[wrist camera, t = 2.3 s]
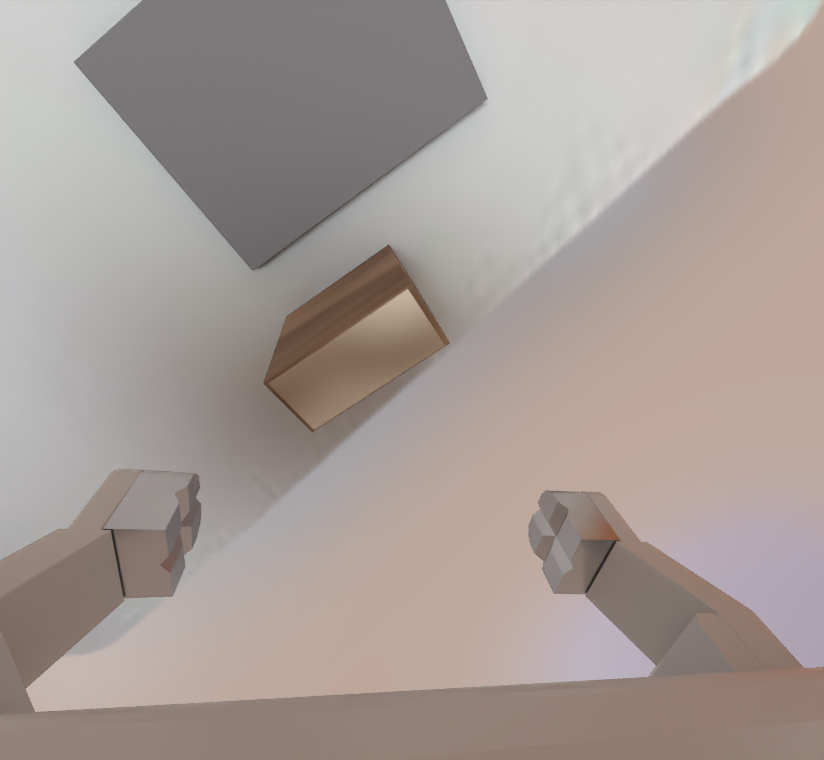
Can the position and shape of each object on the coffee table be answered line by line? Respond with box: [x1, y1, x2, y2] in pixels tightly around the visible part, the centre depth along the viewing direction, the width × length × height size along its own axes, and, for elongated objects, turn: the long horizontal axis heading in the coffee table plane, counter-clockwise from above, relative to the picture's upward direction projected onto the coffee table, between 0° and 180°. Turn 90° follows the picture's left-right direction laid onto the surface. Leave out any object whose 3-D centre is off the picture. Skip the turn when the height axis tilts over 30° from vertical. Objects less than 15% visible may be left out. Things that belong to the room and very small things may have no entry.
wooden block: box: [264, 245, 449, 432], centre depth 20 cm, size 3×7×8 cm, turn 123°
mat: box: [74, 0, 488, 271], centre depth 18 cm, size 14×10×1 cm
